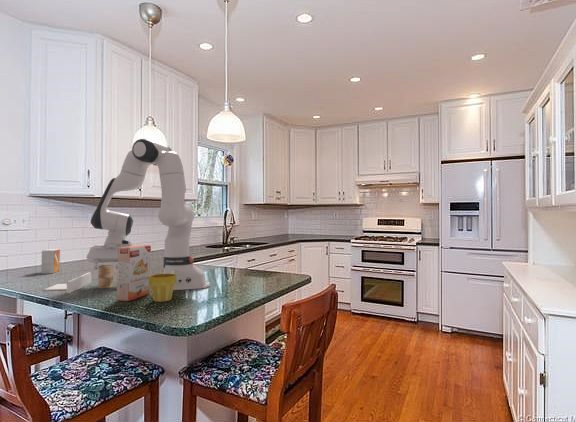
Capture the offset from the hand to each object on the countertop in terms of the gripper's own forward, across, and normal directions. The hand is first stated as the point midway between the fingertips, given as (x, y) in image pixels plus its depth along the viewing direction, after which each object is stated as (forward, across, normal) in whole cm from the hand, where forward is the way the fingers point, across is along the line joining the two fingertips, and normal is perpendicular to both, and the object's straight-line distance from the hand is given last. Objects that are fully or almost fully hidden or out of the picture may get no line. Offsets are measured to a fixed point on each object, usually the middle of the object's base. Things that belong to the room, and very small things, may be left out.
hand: (106, 268), depth 163 cm
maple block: (+7, 0, +5) cm, 8 cm away
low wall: (+7, -11, +5) cm, 14 cm away
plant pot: (+28, +30, -16) cm, 44 cm away
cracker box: (+24, +18, -12) cm, 32 cm away
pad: (+6, -18, +5) cm, 20 cm away
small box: (-26, -44, +38) cm, 64 cm away
